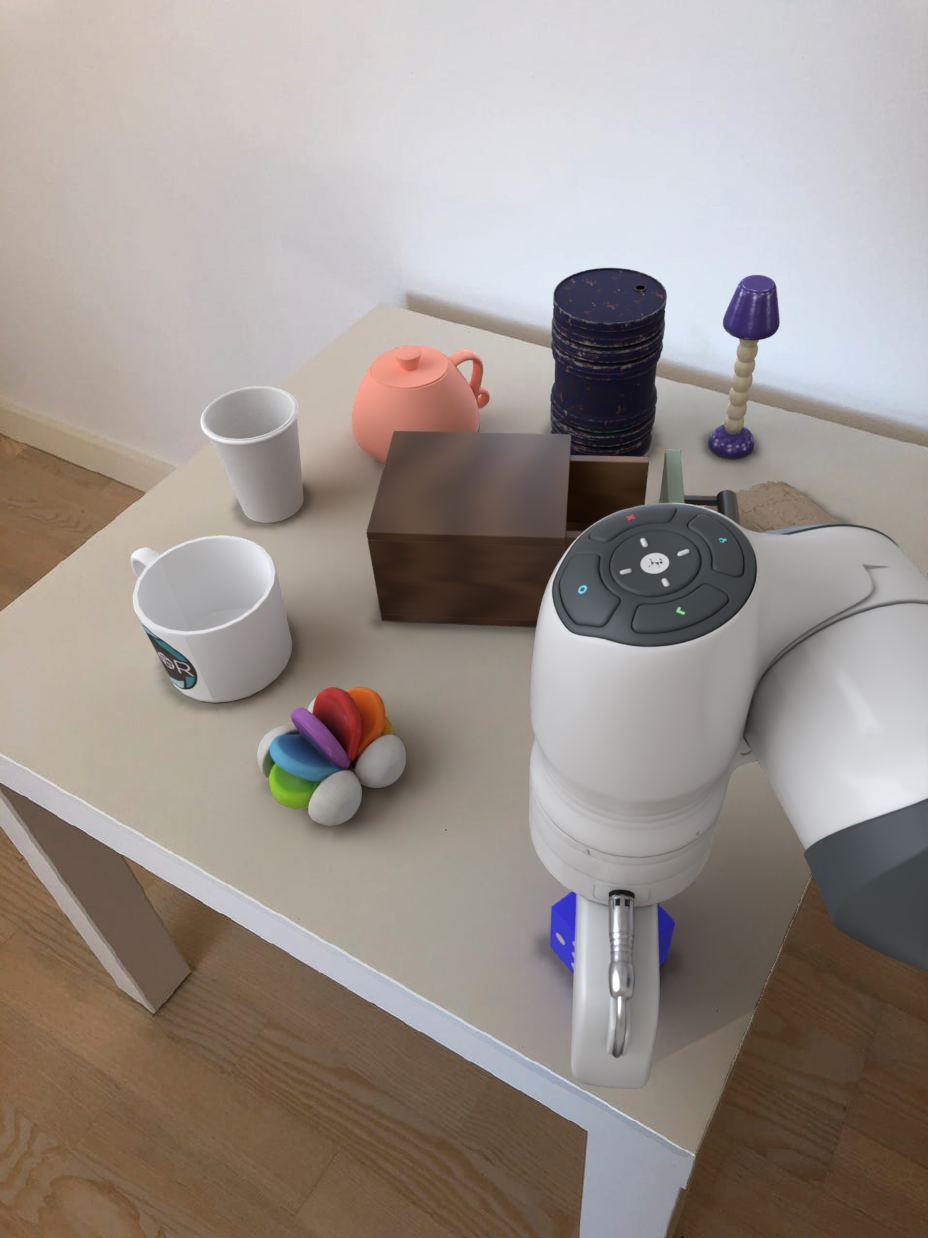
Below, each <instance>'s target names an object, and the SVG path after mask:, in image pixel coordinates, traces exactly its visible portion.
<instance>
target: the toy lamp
mask: <svg viewBox="0 0 928 1238" xmlns="http://www.w3.org/2000/svg"><path fill="white" fill-rule="evenodd" d="M776 284H777V283H776V282H775V281H774V280H773V278H771V277H769V276H766V275H762V274H751V275H747V276H745V277H743V278H742V279H741V280H740V281H739V283H738V284H737V286H736V288H735V290H734V293H733V295H732V296H731V299H730V301H729V304H728V306H727V309H726V311H725V313H724V315H723V319H722V327H723V329H724V330H725V332H726V333H728V334H729V335H730V336H732V337H734V338H736V339H738V341H739V343H738V345H737V347H736V359H735V360H734V361H735V362H734V366H733V371H734V373H733V375H732V377H731V388H730V391H729V393H728V400H729V402H728V403H727V406H726V417H725V419H724V423H723V424H721V425H719V426H717V427H716V428H715V429H714V430H713V431H712V432H711V434H710V436H709V438H708V441H707V444H708V445H707V446H708V448H709V450H710V451H712V453H713V454H715V455H716V456H718V457H721V458H724V459H729V460H736V459H742V458H746V457H747V456H749V455H751V453H752V452H753V451H754V449H755V439H754V436H753V434H752V432H751V431H750V429H749V428H748V427H746V426H745V416H746V413H747V411H748V404H747V403H748V401H749V399H750V396H751V392H750V389H751V387H752V385H753V379H754V378H753V373H754V371H755V370H756V369H755V368H756V357H757V356H758V351H759V346H758V343H759V341H761V340H766V339H768V338H771V337H772V336H774V335H775V334H776V333H778V330H779V328H780V323H781V322H780V306H779V298H778V297H779V296H778V287H777V285H776Z"/></svg>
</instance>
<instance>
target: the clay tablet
mask: <svg viewBox="0 0 928 1238" xmlns="http://www.w3.org/2000/svg"><path fill="white" fill-rule="evenodd" d="M735 494H736V496H737V503H738V511H739V518H740V526H742V527H743V528H745V529H748V530H751V531H754V532H758V533H761V532H767V531H772V530H777V529H783V528H788V527H794V526H801V525H810V524H820V523H843V524H845V523H844V522H843V521H842V520H839V519H837V518H835V516H832V515H830V514H828V513H827V512H826V511H824V510H823V508H821V507H820V506H819V505H817V504H816V503H815V502H813V501H812V500H811V499H809V498H808V497H807V496H805V495H804V493H802V491H800V490H798V489H796V487H795V486H792V485H790V484H789V483H787V482H784V481H778V480H777V481H774V480H766V482H760V483H757V484H755V485H752V487H749V489H741V490H740V489H739V491H737V492H735ZM703 507H704V508H708V509H711V510H713V511H716V512H717V504H716V506H703Z"/></svg>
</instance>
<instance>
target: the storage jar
mask: <svg viewBox="0 0 928 1238" xmlns="http://www.w3.org/2000/svg"><path fill="white" fill-rule="evenodd" d="M667 293H668V292H667V290H666V288H665V286H664V285H663V284H662V283H661V282H660V281H659V280H658V279H657V278H655V277H653V276H651V275H650V274H647V273H645V272H641V271H639V270H635V269H630V268H622V267H597V268H591V269H585V270H582V271H578V272H576V273H573V274H571V275H569V276H567V277H565V278H564V279H562V280H561V281H560V282H559V283H557V285H556V286H555V287H554V291H553V296H552V297H553V298H552V301H553V302H552V306H553V308H552V318H551V338H552V339H551V342H550V349H551V354H552V359H554V382H553V384H552V386H551V391H550V396H549V397H550V399H549V401H550V410H549V411H550V412H549V414H550V417H549V418H550V423H551V432H550V434H571V455H588V456H634V457H645V455H646V454H647V452H648V451H649V450H650V448H651V445H652V438H653V434H652V433H653V427H654V424H655V421H656V411H657V401H658V389H657V386H656V378H657V377H656V376H657V367H658V362H659V361H660V358H661V356H662V352H663V349H664V342H663V341H664V338H665V337H664V336H665V329H666V319H665V317H666V307H667V298H668V294H667Z"/></svg>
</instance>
